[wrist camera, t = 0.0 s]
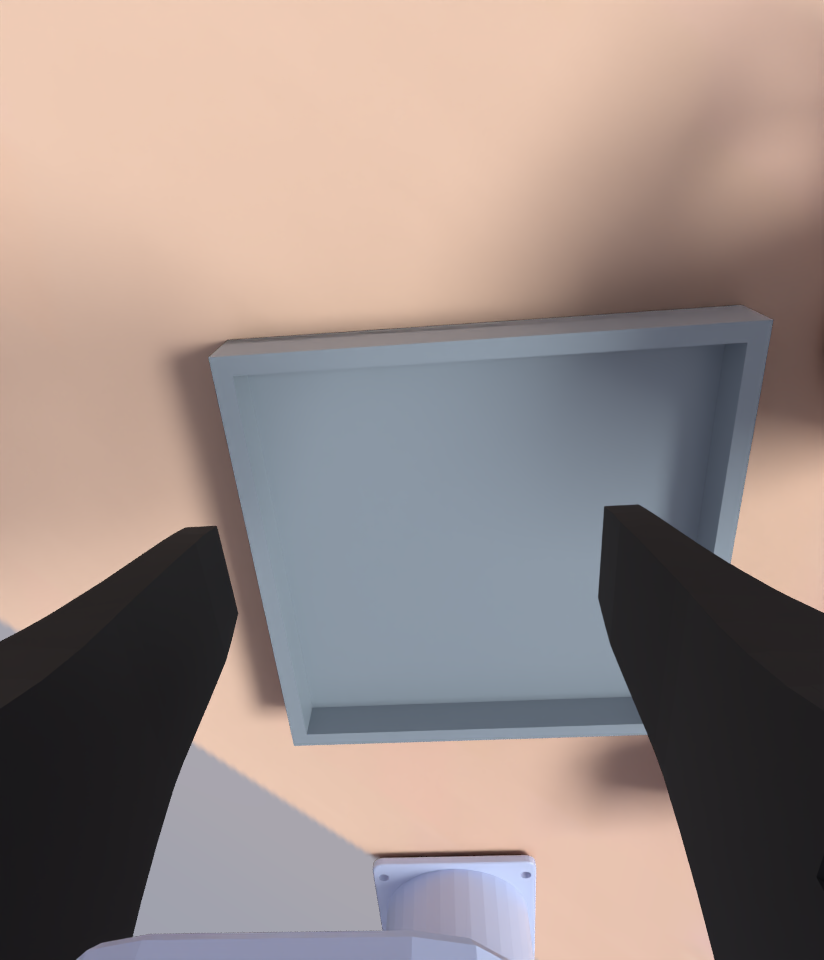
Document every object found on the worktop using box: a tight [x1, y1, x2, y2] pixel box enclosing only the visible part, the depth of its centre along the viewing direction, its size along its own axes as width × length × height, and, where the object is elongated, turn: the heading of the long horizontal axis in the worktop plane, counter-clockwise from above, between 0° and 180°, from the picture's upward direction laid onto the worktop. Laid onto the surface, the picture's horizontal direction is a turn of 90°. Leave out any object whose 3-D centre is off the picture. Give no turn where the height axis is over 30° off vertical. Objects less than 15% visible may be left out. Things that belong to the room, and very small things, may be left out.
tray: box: [208, 305, 773, 746], centre depth 23 cm, size 16×16×2 cm
